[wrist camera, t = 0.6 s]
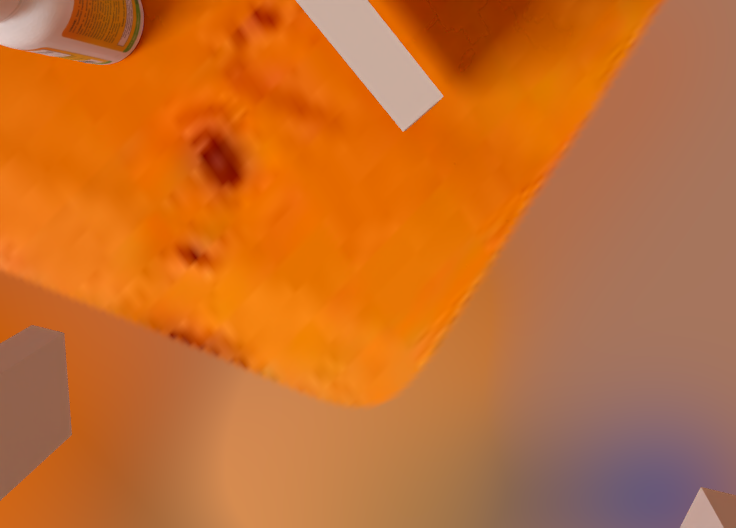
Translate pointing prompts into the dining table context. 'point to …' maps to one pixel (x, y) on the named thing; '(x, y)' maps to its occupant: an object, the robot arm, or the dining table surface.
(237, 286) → the dining table surface
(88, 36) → the supplement bottle
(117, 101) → the dining table surface
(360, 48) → the swing arm
